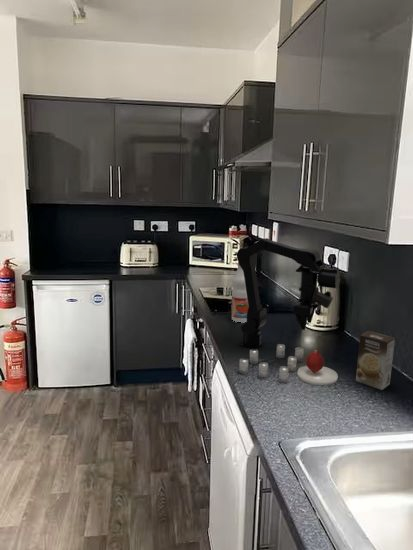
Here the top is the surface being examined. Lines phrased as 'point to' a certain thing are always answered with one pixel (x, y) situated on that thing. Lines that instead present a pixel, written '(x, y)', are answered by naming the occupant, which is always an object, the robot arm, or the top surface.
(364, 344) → the coffee box
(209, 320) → the top surface
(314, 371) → the onion
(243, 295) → the fruit juice
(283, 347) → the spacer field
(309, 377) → the plate
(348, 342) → the top surface
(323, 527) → the top surface
